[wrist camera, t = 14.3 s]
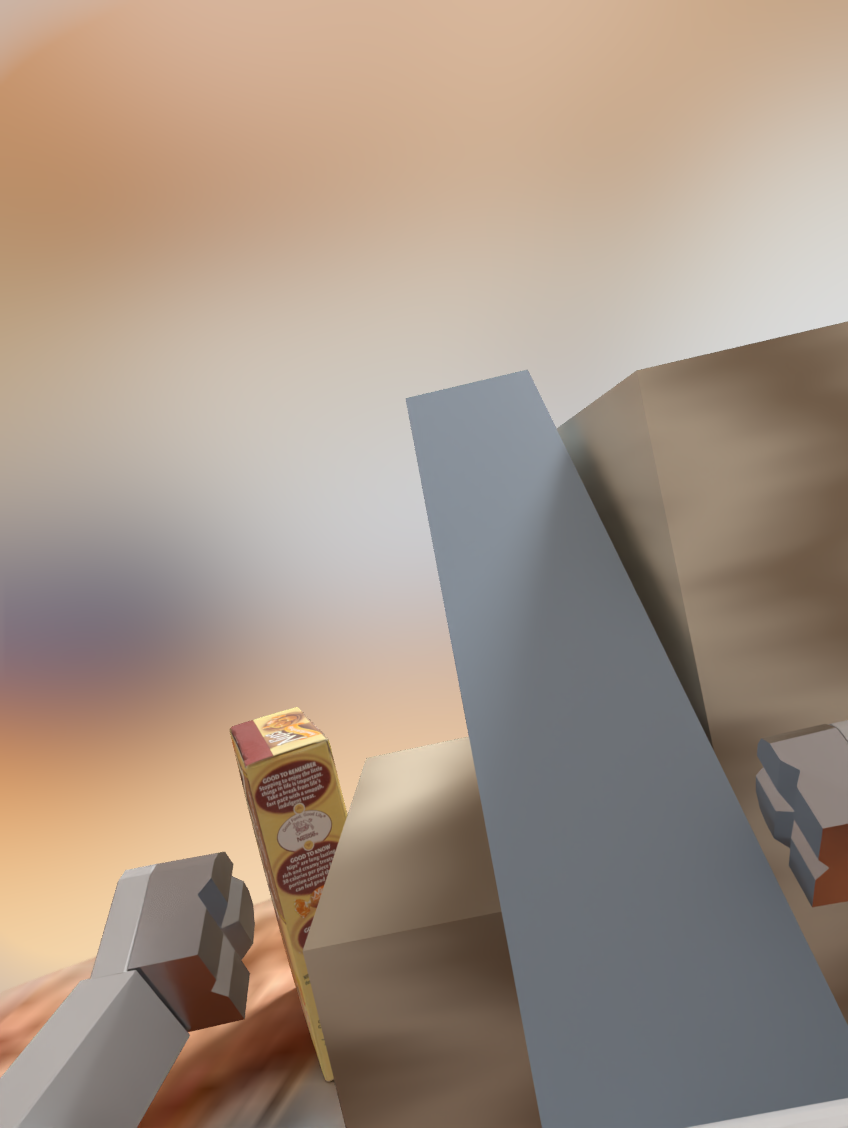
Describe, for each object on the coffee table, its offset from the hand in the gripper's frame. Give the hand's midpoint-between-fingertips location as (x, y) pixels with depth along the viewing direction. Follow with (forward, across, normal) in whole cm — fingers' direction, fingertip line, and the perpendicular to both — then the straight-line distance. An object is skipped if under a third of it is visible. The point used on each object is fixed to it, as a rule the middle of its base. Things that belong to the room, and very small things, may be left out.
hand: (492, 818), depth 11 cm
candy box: (+12, +11, +30) cm, 34 cm away
